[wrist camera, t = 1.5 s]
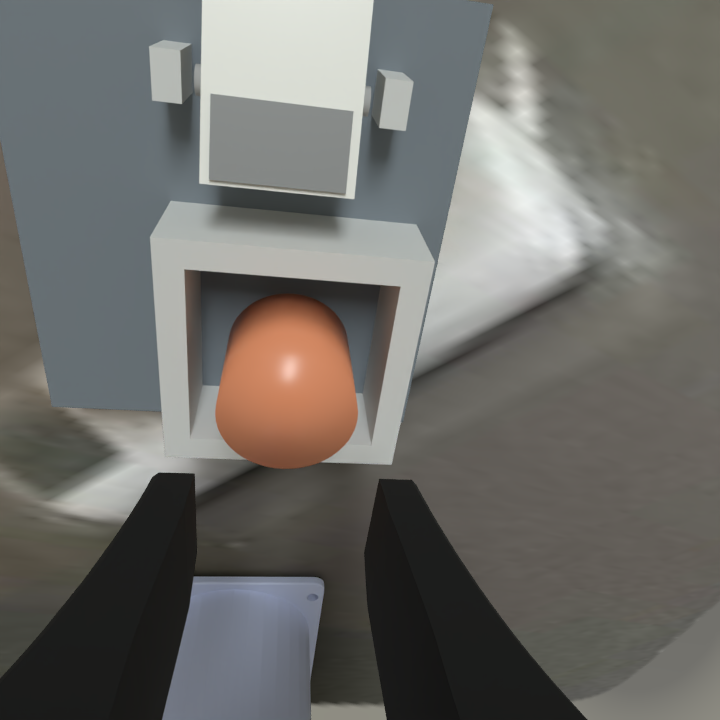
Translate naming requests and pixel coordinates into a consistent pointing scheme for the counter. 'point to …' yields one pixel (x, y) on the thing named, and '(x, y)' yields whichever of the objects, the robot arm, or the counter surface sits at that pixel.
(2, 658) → the counter surface
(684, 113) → the counter surface
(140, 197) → the breaker panel
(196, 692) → the robot arm
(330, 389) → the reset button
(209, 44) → the rocker
